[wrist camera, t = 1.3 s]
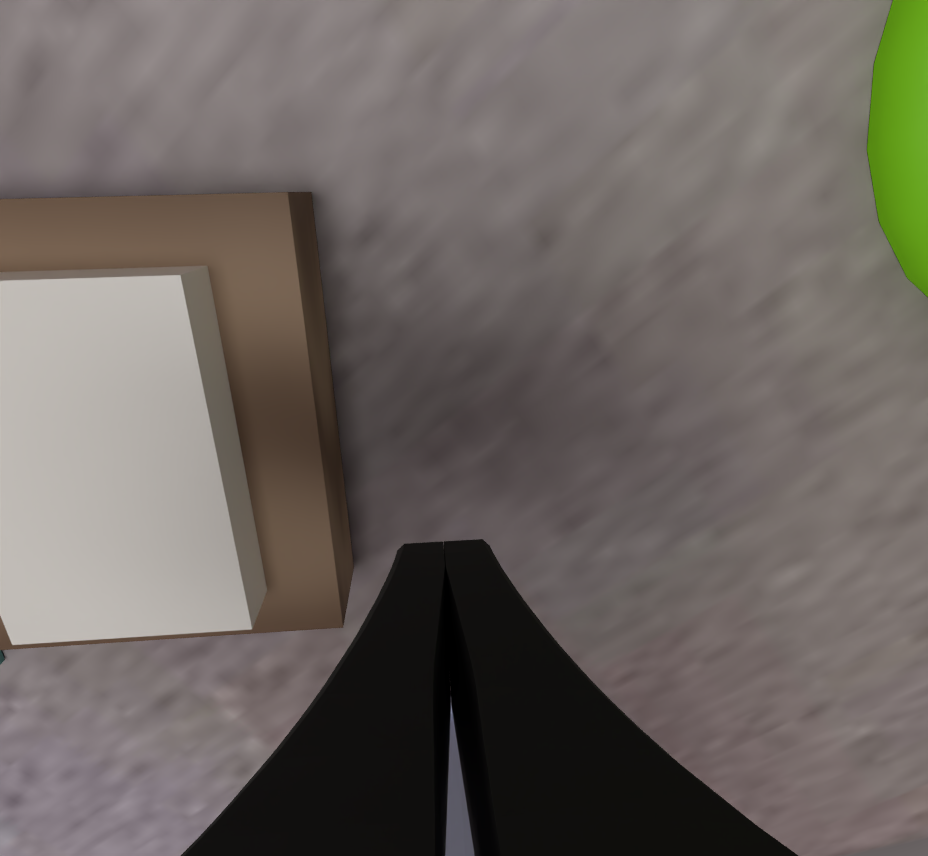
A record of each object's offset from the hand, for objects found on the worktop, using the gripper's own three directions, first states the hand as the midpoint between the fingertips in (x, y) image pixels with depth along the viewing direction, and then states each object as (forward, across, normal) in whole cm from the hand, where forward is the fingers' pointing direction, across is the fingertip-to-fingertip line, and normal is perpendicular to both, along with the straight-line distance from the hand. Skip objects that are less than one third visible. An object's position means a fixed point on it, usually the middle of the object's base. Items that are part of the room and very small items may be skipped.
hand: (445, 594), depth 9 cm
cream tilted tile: (+6, +8, 0) cm, 10 cm away
